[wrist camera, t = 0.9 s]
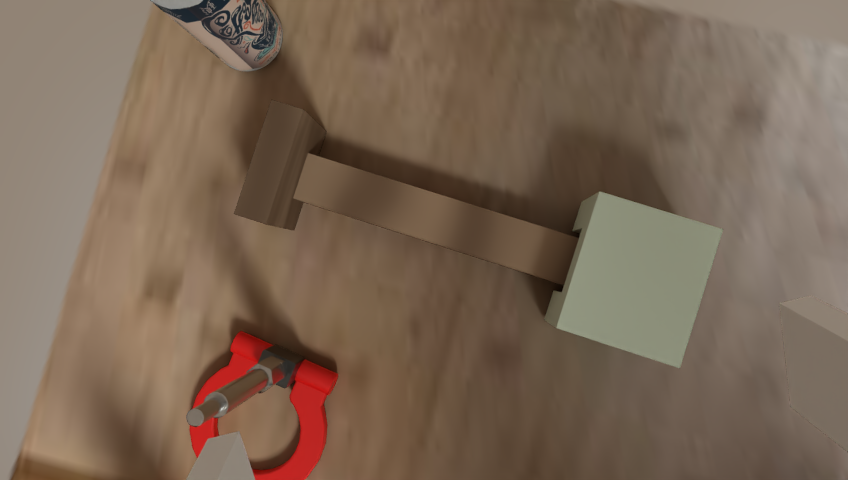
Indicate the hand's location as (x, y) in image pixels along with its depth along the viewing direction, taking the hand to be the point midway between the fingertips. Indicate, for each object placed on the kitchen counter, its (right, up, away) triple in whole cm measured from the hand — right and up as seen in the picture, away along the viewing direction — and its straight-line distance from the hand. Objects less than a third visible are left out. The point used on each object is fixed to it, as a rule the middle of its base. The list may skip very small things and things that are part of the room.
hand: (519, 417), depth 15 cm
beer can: (-14, +18, +29) cm, 37 cm away
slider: (+10, +2, +26) cm, 28 cm away
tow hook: (-13, -8, +28) cm, 31 cm away
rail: (+1, +5, +27) cm, 27 cm away
